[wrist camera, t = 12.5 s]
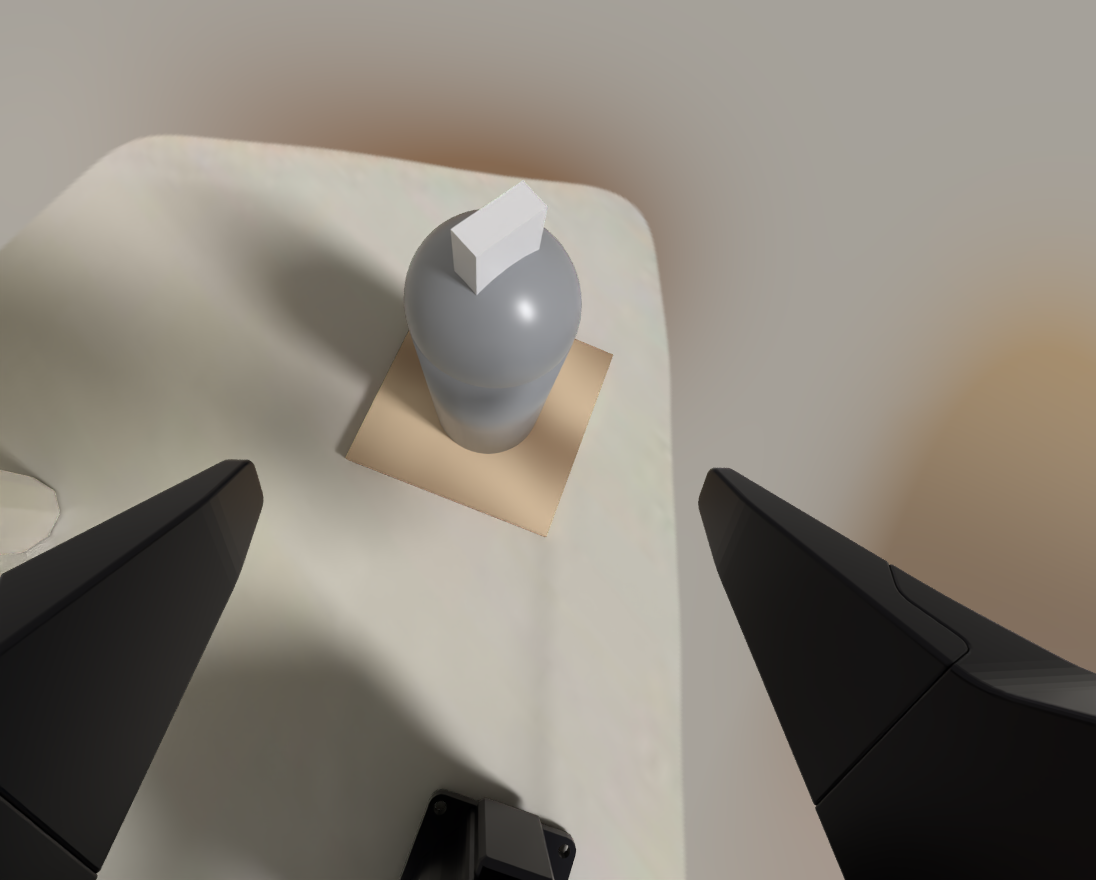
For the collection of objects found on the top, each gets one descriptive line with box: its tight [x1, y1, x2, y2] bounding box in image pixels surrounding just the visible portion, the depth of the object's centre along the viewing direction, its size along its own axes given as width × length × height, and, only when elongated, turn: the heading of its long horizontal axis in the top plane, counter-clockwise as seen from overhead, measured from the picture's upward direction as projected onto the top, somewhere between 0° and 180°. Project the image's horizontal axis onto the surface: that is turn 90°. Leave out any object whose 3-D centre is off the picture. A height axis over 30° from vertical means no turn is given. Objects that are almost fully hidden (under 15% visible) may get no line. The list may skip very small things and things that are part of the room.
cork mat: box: [345, 331, 613, 537], centre depth 24 cm, size 10×10×1 cm
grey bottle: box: [404, 181, 582, 454], centre depth 17 cm, size 5×5×14 cm
